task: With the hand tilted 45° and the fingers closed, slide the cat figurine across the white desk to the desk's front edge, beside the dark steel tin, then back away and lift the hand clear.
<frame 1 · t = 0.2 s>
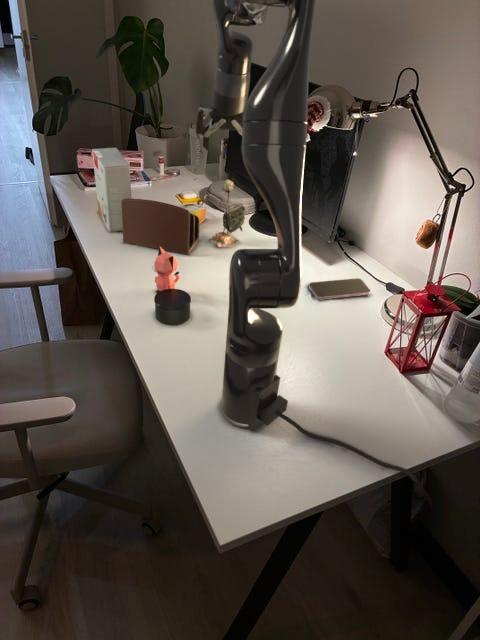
hand: (224, 149, 122), 31 cm above the table, tool tilted 20°, fingers open, 8 cm apart
hard drive box: (115, 221, 156), on the table
smartphone: (338, 291, 132), on the table
steel tin: (172, 315, 118), on the table
letter holder: (161, 242, 147), on the table
cat figurine: (166, 294, 125), on the table
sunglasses: (181, 217, 162), on the table
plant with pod: (226, 242, 150), on the table
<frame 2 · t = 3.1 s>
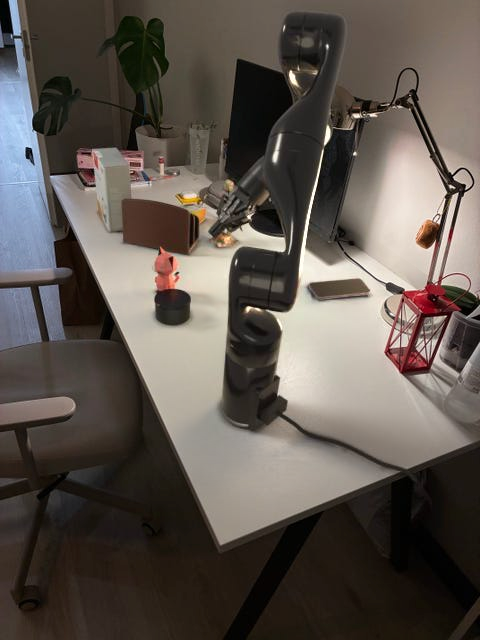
hand: (211, 235, 121), 14 cm above the table, tool tilted 45°, fingers closed
nothing on the table moved.
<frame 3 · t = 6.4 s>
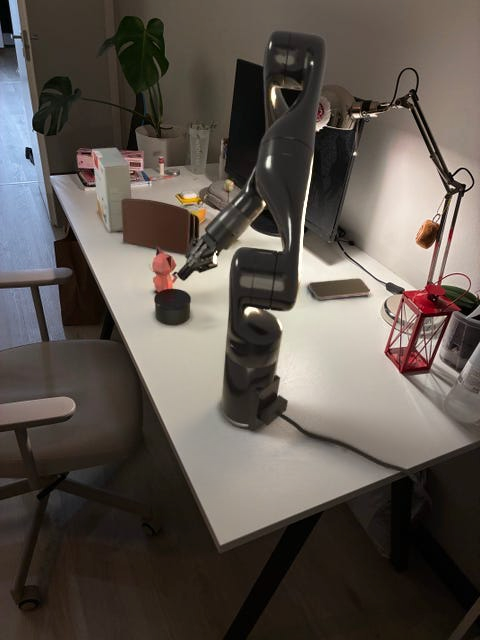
hand: (180, 277, 124), 4 cm above the table, tool tilted 45°, fingers closed
cat figurine: (164, 294, 125), on the table, touching gripper
everything else where it was.
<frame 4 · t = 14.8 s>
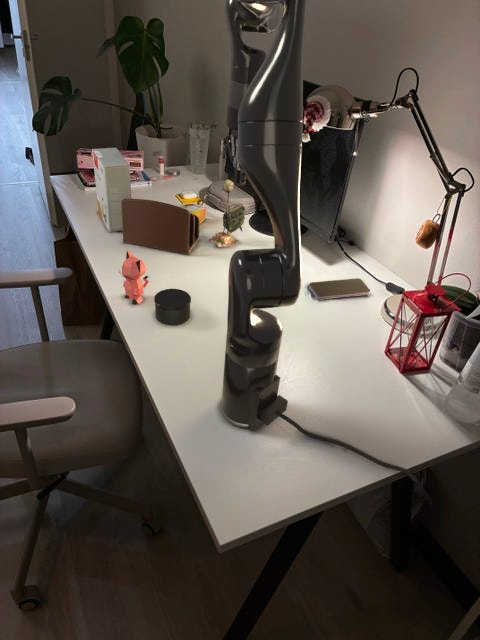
hand: (239, 184, 114), 27 cm above the table, tool pointing down, fingers closed
cat figurine: (135, 299, 122), on the table
everything else where it was.
at the end: cat figurine inside the target area (2.8 cm from its centre), on the table; cat figurine tilted 0°; cat figurine moved 7.7 cm from its start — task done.
